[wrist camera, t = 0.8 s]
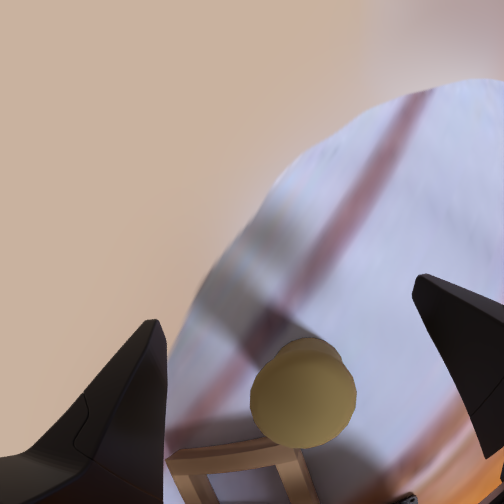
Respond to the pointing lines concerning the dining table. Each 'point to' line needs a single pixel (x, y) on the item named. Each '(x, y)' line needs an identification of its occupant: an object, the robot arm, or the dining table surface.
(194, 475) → the socket block
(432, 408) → the dining table surface
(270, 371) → the cork
